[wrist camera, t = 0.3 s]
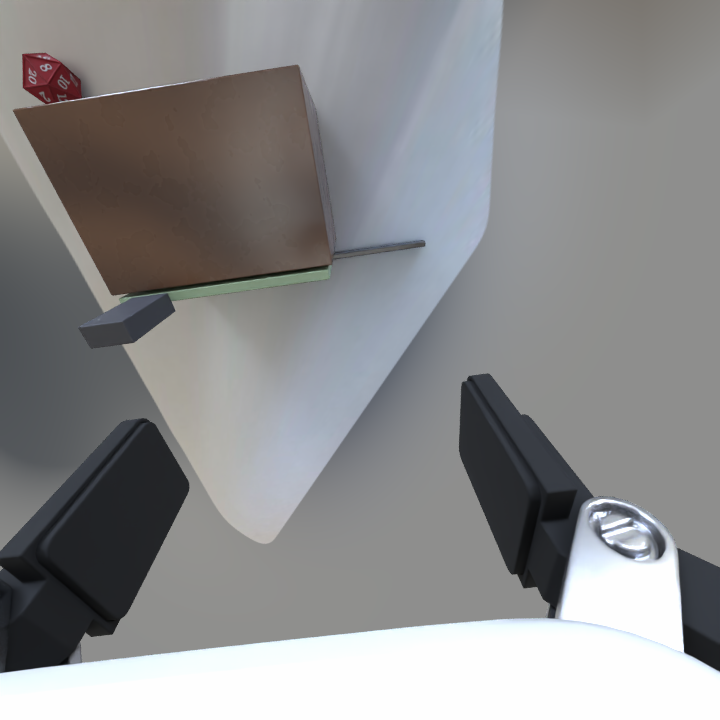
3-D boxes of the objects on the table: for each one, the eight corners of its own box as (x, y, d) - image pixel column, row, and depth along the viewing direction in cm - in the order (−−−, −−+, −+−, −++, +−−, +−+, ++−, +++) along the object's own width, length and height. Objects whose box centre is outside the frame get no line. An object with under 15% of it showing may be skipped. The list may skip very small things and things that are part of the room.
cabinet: (133, 136, 31) (10, 108, 19) (419, 92, 30) (464, 37, 19) (190, 277, 38) (123, 318, 26) (423, 244, 37) (458, 272, 26)
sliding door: (186, 263, 36) (59, 328, 20) (333, 242, 36) (323, 292, 20) (191, 277, 37) (74, 351, 21) (335, 257, 37) (328, 316, 21)
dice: (42, 50, 27) (-2, 30, 24) (99, 79, 29) (65, 65, 25) (42, 99, 29) (1, 88, 26) (95, 125, 30) (63, 118, 27)
